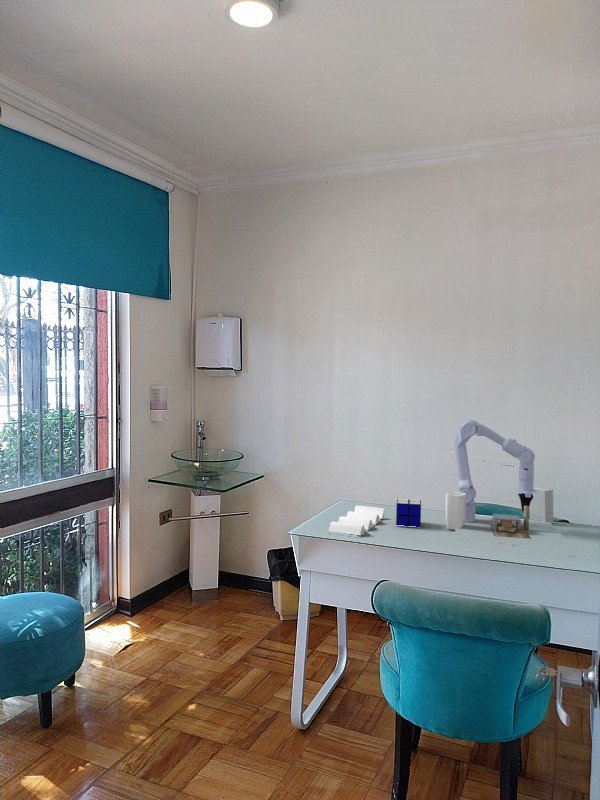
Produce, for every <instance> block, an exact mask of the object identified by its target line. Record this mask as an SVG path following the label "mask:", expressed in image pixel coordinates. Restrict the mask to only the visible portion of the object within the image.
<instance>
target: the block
mask: <svg viewBox="0 0 600 800" xmlns="http://www.w3.org/2000/svg"><path fill="white" fill-rule="evenodd" d="M500 523H501V526H500V527H512V524H513V521H505V520H500Z"/></svg>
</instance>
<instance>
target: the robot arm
mask: <svg viewBox="0 0 600 800" xmlns="http://www.w3.org/2000/svg"><path fill="white" fill-rule="evenodd" d="M475 435H476V436H477V437H486V438H487V439H488V440H489V439H490V440H491V441H493V442H494V443H497V444H498V445H500V446H501V448H502V451H504V452H505V453H507V454H509V455H510V456H512V457H514V458H515V459H518V460H519V468H518V488H517V491H518V492H520V493H518V494H517V495H518V497H519V500H520V506H521V511H522V512H523V513H524V506H529V507H530V503H531V500H532V499H533V497H534V496H533V494H531V493H533V492H536V489H533V488H534V483H535V481H534V477H535V468H534V467H535V463H534V461H535V458H536V454H535V453H534V451H533V449H531V448H527V446H526V445H522V444H520V443H519V442H517V439H515V438H513V439H512V438H505V437H503V436H501V435H500V434H498V433H497V432H495V431H494V430H492V429H491V428H490V427H488V426H486V425H484V424H483V423H479V422H478V421H476V420H474V419H470V420H468V421H465V422H464V423H462V424H461V426H459V427H458V430H457V432H456V434H455V436H454V438H453V446H454V453H455V461H456V469H457V474H458V482H459V483H458V492H460V493H465V494H466V506H465V517H464V523H467V524H468V523H469V524H470V523H475V522H476V503H477V502H476V501H475V498H476V495H477V491H476V489H475V488H474V486H473V481H472V478H471V477H472V476H471V471H470V464H469V458H468V449H467V442H468V441H469V440H470V439H471V438H472V437H473V436H475Z"/></svg>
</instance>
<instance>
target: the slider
mask: <svg viewBox="0 0 600 800" xmlns="http://www.w3.org/2000/svg"><path fill="white" fill-rule="evenodd" d="M500 526H501V522H497V527H498V531H509V532H516V528H518V527H517V525H516V524H514V523H512V527H500ZM529 528H530V506H524V512H523V525H521V528H518V529H526V530H529Z"/></svg>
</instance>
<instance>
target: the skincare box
mask: <svg viewBox="0 0 600 800" xmlns="http://www.w3.org/2000/svg"><path fill="white" fill-rule="evenodd" d="M533 489H536V492H533V493H531V494H533V496H534V497H533V499H532V500H531V503H530V506H529V521H531V522H533V521H534V522H544V523H548V522H550V524H551V523H553V524H554V489H552V488H546V487H545V488H544V487H539V486H536V487H533Z"/></svg>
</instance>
